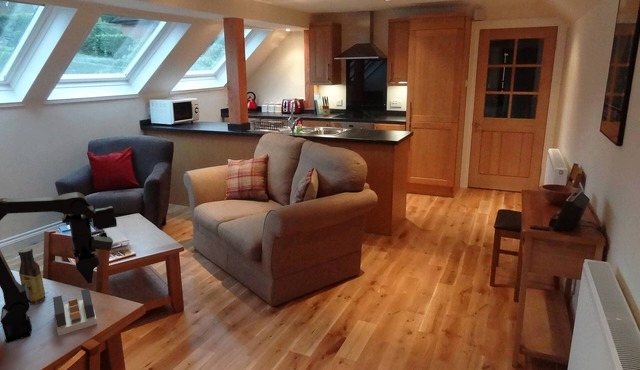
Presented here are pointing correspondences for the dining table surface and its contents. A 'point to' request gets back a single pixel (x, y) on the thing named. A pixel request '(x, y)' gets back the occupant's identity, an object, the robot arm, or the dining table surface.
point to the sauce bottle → (31, 275)
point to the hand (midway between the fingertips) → (88, 277)
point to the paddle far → (73, 302)
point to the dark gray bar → (88, 303)
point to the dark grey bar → (59, 311)
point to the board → (76, 320)
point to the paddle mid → (74, 308)
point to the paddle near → (75, 315)
